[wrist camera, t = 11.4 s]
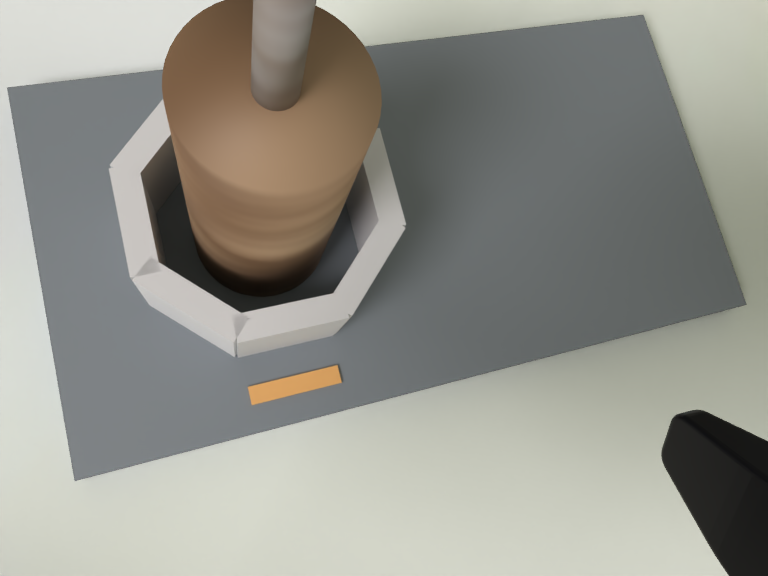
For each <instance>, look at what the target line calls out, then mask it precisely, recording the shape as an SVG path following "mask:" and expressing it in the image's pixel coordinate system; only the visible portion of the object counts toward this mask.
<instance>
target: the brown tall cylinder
mask: <svg viewBox="0 0 768 576" xmlns="http://www.w3.org/2000/svg"><path fill="white" fill-rule="evenodd" d="M315 5H316V0H224V1H221V2H219V3H216V4H214V5H212V6H210V7H208V8H206V9H205V10H203V11H202V12H200V13H199V14H197V15H196V16H195V17H193V18H192V19H191V20H190V21H189V22H188V23H187V24H186V25H185V26H184V27H183V28H182V30H181V31H180V32H179V33H178V35H177V36H176V38H175V39H174V41H173V43H172V45H171V46H170V48H169V51H168V54H167V56H166V59H165V63H164V68H163V73H162V93H163V101H164V106H165V110H166V115H167V119H168V124H169V128H170V133H171V137H172V142H173V146H174V151H175V155H176V160H177V164H178V169H179V174H180V178H181V183H182V187H183V192H184V196H185V201H186V205H187V210H188V214H189V219H190V223H191V228H192V232H193V237H194V241H195V246H196V249H197V253H198V255H199V258H200V260H201V262H202V264H203V265H204V267H205V268H206V270H207V271H208V272H209V274H210V275H211V276H212V277H213V278H214V279H215V280H217V281H218V282H219V283H221V284H222V285H223V286H225V287H227V288H229V289H230V290H233V291H235V292H238V293H241V294H244V295H249V296H256V297H266V296H274V295H278V294H282V293H285V292H287V291H290V290H292V289H294V288H295V287H297V286H299V285H300V284H301V283H303V282H304V281H305V280H306V279H307V278H308V277H309V276H310V275H311V274H312V273H313V271H314V270H315V269H316V267H317V265H318V264H319V261H320V259H321V257H322V255H323V252H324V250H325V248H326V245H327V243H328V241H329V238H330V236H331V234H332V232H333V229H334V227H335V225H336V222H337V220H338V218H339V215H340V213H341V211H342V208H343V206H344V204H345V202H346V199H347V197H348V195H349V192H350V190H351V188H352V185H353V183H354V181H355V179H356V176H357V174H358V172H359V169H360V167H361V165H362V162H363V160H364V158H365V155H366V153H367V151H368V149H369V146H370V144H371V142H372V139H373V137H374V135H375V132H376V130H377V127H378V123H379V119H380V115H381V106H382V97H381V87H380V81H379V77H378V74H377V71H376V68H375V65H374V63H373V61H372V59H371V57H370V55H369V53H368V52H367V50H366V48H365V47H364V45H363V44H362V42H361V41H360V40H359V39H358V38H357V36H356V35H355V34H354V33H353V32H352V31H351V30H350V29H349V28H348V27H347V26H346V25H345V24H344V23H342V22H341V21H340V20H338V19H337V18H336V17H335V16H333V15H331V14H330V13H328V12H327V11H325V10H323V9H321V8H319V7H317V6H315Z"/></svg>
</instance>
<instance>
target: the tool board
mask: <svg viewBox="0 0 768 576" xmlns="http://www.w3.org/2000/svg"><path fill="white" fill-rule="evenodd" d="M365 48H366V50H367V52H368V53H369V55H370V57H371V59H372V61H373V63H374V65H375V68H376V71H377V74H378V77H379V81H380V87H381V97H382V106H381V115H380V119H379V123H378V127H377V130H376V132H375V135H374V137H373V139H372V142H371V144H370V146H369V149H368V151H367V153H366V155H365V158H364V160H363V162H362V165H361V167H360V169H359V172H358V174H357V176H356V179H355V181H354V183H353V185H352V188H351V190H350V192H349V195H348V197H347V199H346V202H345V204H344V206H343V208H342V211H341V213H340V215H339V218H338V220H337V222H336V225H335V227H334V229H333V232H332V234H331V236H330V238H329V241H328V243H327V245H326V248H325V250H324V252H323V255H322V257H321V259H320V261H319V264H318V265H317V267H316V269H315V270H314V271H313V273H312V274H311V275H310V276H309V277H308V278H307V279H306V280H305V281H304V282H303V283H301V284H300V285H299V286H297V287H295V288H294V289H292V290H290V291H287V292H285V293H282V294H278V295H274V296H266V297H256V296H249V295H244V294H241V293H238V292H235V291H233V290H230V289H229V288H227V287H225V286H223V285H222V284H221V283H219V282H218V281H217V280H215V279H214V278H213V277H212V276H211V275H210V274H209V272H208V271H207V270H206V268H205V267H204V265H203V264H202V262H201V260H200V258H199V255H198V253H197V249H196V246H195V241H194V237H193V232H192V228H191V223H190V219H189V214H188V210H187V205H186V201H185V196H184V192H183V187H182V183H181V178H180V174H179V169H178V164H177V160H176V155H175V151H174V146H173V142H172V137H171V133H170V128H169V124H168V119H167V115H166V110H165V106H164V101H163V93H162V73H163V70H157V71H148V72H139V73H130V74H122V75H113V76H104V77H95V78H87V79H78V80H69V81H60V82H52V83H43V84H34V85H26V86H17V87H8V88H7V90H8V95H9V101H10V107H11V113H12V119H13V125H14V130H15V136H16V142H17V148H18V154H19V159H20V165H21V171H22V177H23V183H24V189H25V194H26V200H27V206H28V212H29V218H30V224H31V229H32V235H33V241H34V247H35V253H36V259H37V264H38V270H39V276H40V282H41V288H42V293H43V299H44V305H45V311H46V317H47V323H48V328H49V334H50V340H51V346H52V352H53V358H54V363H55V369H56V375H57V381H58V387H59V393H60V398H61V404H62V410H63V416H64V422H65V428H66V433H67V439H68V445H69V451H70V457H71V462H72V468H73V474H74V480H75V481H77V480H81V479H84V478H88V477H92V476H96V475H100V474H104V473H107V472H111V471H115V470H119V469H123V468H126V467H130V466H134V465H138V464H142V463H145V462H149V461H153V460H157V459H161V458H164V457H168V456H172V455H176V454H180V453H184V452H187V451H191V450H195V449H199V448H203V447H206V446H210V445H214V444H218V443H222V442H225V441H229V440H233V439H237V438H241V437H244V436H248V435H252V434H256V433H260V432H263V431H267V430H271V429H275V428H279V427H283V426H286V425H290V424H294V423H298V422H302V421H305V420H309V419H313V418H317V417H321V416H324V415H328V414H332V413H336V412H340V411H343V410H347V409H351V408H355V407H359V406H363V405H366V404H370V403H374V402H378V401H382V400H385V399H389V398H393V397H397V396H401V395H404V394H408V393H412V392H416V391H420V390H423V389H427V388H431V387H435V386H439V385H443V384H446V383H450V382H454V381H458V380H462V379H465V378H469V377H473V376H477V375H481V374H484V373H488V372H492V371H496V370H500V369H503V368H507V367H511V366H515V365H519V364H523V363H526V362H530V361H534V360H538V359H542V358H545V357H549V356H553V355H557V354H561V353H564V352H568V351H572V350H576V349H580V348H583V347H587V346H591V345H595V344H599V343H602V342H606V341H610V340H614V339H618V338H622V337H625V336H629V335H633V334H637V333H641V332H644V331H648V330H652V329H656V328H660V327H663V326H667V325H671V324H675V323H679V322H682V321H686V320H690V319H694V318H698V317H702V316H705V315H709V314H713V313H717V312H721V311H724V310H728V309H732V308H736V307H740V306H743V305H746V302H745V299H744V296H743V293H742V291H741V288H740V285H739V282H738V279H737V277H736V274H735V271H734V268H733V265H732V263H731V260H730V257H729V254H728V251H727V249H726V246H725V243H724V240H723V237H722V235H721V232H720V229H719V226H718V223H717V221H716V218H715V215H714V212H713V209H712V206H711V204H710V201H709V198H708V195H707V192H706V190H705V187H704V184H703V181H702V178H701V176H700V173H699V170H698V167H697V164H696V162H695V159H694V156H693V153H692V150H691V148H690V145H689V142H688V139H687V136H686V134H685V131H684V128H683V125H682V122H681V119H680V117H679V114H678V111H677V108H676V105H675V103H674V100H673V97H672V94H671V91H670V89H669V86H668V83H667V80H666V77H665V75H664V72H663V69H662V66H661V63H660V61H659V58H658V55H657V52H656V49H655V47H654V44H653V41H652V38H651V35H650V33H649V30H648V27H647V24H646V21H645V18H644V16H643V15H637V16H628V17H620V18H611V19H602V20H593V21H585V22H576V23H567V24H558V25H550V26H541V27H532V28H523V29H515V30H506V31H497V32H488V33H480V34H471V35H462V36H454V37H445V38H436V39H427V40H419V41H410V42H401V43H392V44H384V45H375V46H366V47H365Z"/></svg>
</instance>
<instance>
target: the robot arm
mask: <svg viewBox="0 0 768 576" xmlns="http://www.w3.org/2000/svg"><path fill="white" fill-rule="evenodd" d="M661 456H662V461H663V464H664V466H665V468H666V470H667V472H668V474H669V475H670V477H671V479H672V481H673V483H674V484H675V486H676V488H677V490H678V491H679V493H680V495H681V497H682V498H683V500H684V502H685V504H686V506H687V507H688V509H689V511H690V513H691V514H692V516H693V518H694V520H695V521H696V523H697V525H698V527H699V528H700V530H701V532H702V534H703V536H704V537H705V539H706V541H707V543H708V544H709V546H710V547H711V549H712V551H713V552H714V554H715V556H716V557H717V559H718V560H719V562H720V563H721V565H722V566H723V568H724V569H725V571H726V572H727V574H728V575H729V576H768V441H766V440H764V439H762V438H760V437H758V436H756V435H754V434H752V433H750V432H747V431H745V430H743V429H741V428H739V427H737V426H735V425H733V424H731V423H729V422H727V421H724V420H722V419H720V418H718V417H716V416H714V415H712V414H710V413H708V412H705V411H703V410H692V411H688V412H684V413H680V414H677V415H676V416H674V417H673V419H672V421H671V423H670V426H669V429H668V432H667V435H666V438H665V441H664V444H663V447H662V454H661Z"/></svg>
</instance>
